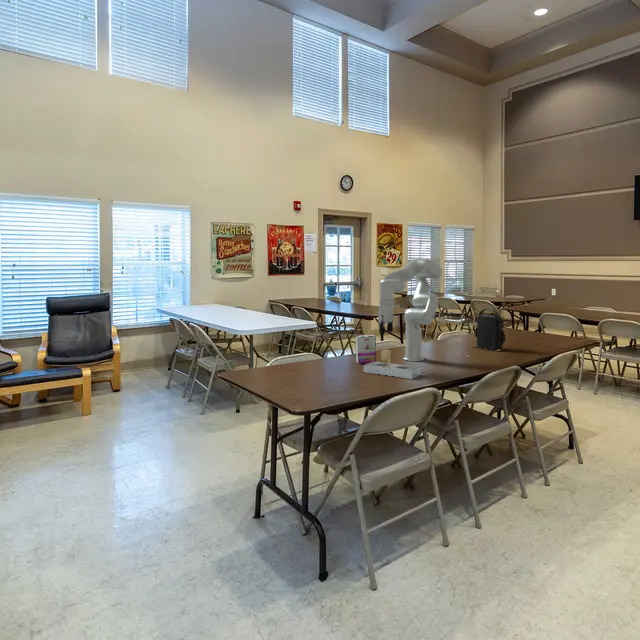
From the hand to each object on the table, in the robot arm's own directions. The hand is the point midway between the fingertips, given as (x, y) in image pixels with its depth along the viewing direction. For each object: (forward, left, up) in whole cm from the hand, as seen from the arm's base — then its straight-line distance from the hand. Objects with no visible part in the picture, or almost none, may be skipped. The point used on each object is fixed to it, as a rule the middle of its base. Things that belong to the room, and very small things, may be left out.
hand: (386, 332), depth 265 cm
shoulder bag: (-91, +33, -20) cm, 99 cm away
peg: (0, 0, -20) cm, 20 cm away
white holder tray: (+11, +9, -20) cm, 24 cm away
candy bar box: (-6, -16, -20) cm, 27 cm away
